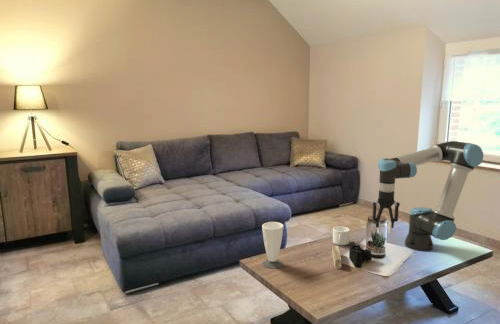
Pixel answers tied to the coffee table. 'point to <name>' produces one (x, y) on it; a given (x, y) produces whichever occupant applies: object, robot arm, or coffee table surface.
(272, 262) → the cup
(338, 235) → the mug
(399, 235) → the coffee table surface
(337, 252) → the board
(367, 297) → the coffee table surface
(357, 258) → the camera
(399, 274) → the coffee table surface
